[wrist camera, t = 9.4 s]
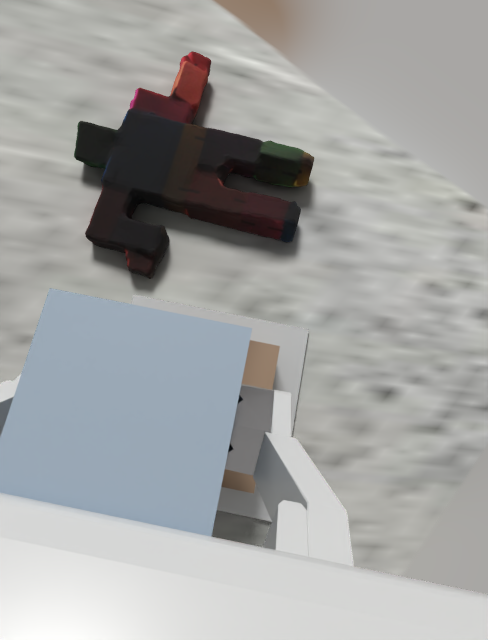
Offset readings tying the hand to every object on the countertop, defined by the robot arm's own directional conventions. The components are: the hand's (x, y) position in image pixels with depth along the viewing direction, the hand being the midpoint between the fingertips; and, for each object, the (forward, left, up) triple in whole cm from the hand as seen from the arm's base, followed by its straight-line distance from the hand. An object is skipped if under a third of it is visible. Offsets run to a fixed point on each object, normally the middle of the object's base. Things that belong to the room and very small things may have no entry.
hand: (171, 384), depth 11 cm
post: (0, -1, -5) cm, 5 cm away
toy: (-4, +14, -14) cm, 20 cm away
